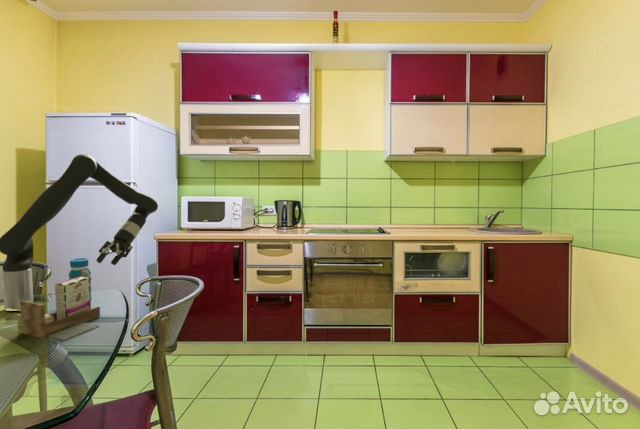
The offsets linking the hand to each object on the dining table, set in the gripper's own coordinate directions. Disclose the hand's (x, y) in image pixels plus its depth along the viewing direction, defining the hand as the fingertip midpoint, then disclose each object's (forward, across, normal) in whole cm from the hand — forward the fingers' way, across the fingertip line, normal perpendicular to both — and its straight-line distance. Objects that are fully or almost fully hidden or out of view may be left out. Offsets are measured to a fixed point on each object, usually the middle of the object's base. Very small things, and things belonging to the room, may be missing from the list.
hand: (105, 263), depth 148 cm
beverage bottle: (+14, -17, +15) cm, 27 cm away
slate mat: (+29, +10, -1) cm, 31 cm away
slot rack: (+27, 0, +2) cm, 27 cm away
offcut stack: (+32, 0, -3) cm, 32 cm away
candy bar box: (+24, 0, +5) cm, 25 cm away
